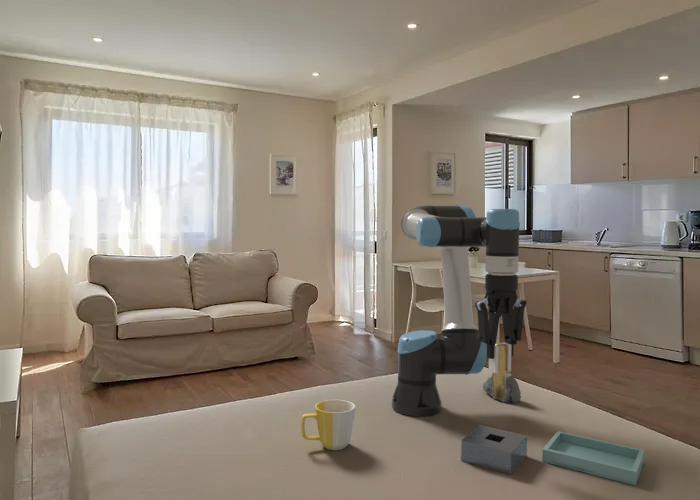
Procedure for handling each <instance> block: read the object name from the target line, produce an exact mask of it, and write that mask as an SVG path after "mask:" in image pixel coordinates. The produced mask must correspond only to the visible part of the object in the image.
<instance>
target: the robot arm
mask: <svg viewBox="0 0 700 500" xmlns="http://www.w3.org/2000/svg"><path fill="white" fill-rule="evenodd" d="M400 225H401V226H400V227H401V230H402V232H403V234H404V235H405V236H406V237H407V238H409V239H411V240H415V241H417V244H418V245H419V246H420V247H427V248H436V249H437V250H438V251H439V252H440V253H441V267H442V268H441V271H442V286H443V287H442V288H443V304H444V319H445V322H444V323H445V325H444V326H443V328H441V330H440V335H438V334H437V332H436V331H433V330H431V329H429V330H425V329H423V330H422V329H421V330H415V331H410V332H405V333H404V334H402V335H401V336H400V337H399V339H398V344H397V345H398V346H397V384H396V387H395V390H394V392H393V395H392V399H391V408H392V409H393V410H394V411H395V412H396V413H399V414H402V415H404V416H405V415H406V416H411V417H412V416H413V417H429V416H434V415H437V414H439V413H441V411H442V400H441V396H440V393H439V390H438V386H437V375H465V376H467V375H476V374H479V373H481V372H482V371H483V370H484V368H485V365H486V362H487V359H488V371H489V372H491V373H493V372H494V373H498V354H499V346H498V345H496V343H497V338H498V333H499V332H498V331H499V324H500V319H502V329H503V337H504V339H503V340H504V341H503V342H501V343H504V344H506V371H508V372H509V373H511V372H512V357H513V356H514V348H515V347H514V346H515V345H517V343H518V341H519V342H520V341H521V339H522V333H523V325H524V324H523V323H524V314H525V313H524V312H525V308H526V306H527V304H528V303H527V300H526V299H521V298H519V296H518V294H517V291H518V289H519V276H518V275H517V274H518V272H519V248H520V247H519V246H520V244H519V243H520V227H521V221H520V212H519V211H518V209H516V208H490V209H488V210H487V211H486V217H485V216H482V217H478V216H477V217H476V213H475V212H474V210H473V209H472V208H471V207H470V206H467V205H466V206H465V205H459V204H457V205H420V206H417V207H413V208H411V209H409V210H407V211H406V212H405V213H404V214H403V216H402V217H401V221H400ZM472 247H473V248H479V247H480V248H485V266H484V267H485V269H484V270H485V272H486V273H487V274H486V275H485V280H484V282H485V283H484V284H485V286H484V287H485V290H486V292H485V295H484V299H482V300H480V301H478V300H477V301H475V303H474V306H475V308H476V310H477V321H478V322H477V323H478V327H477V325H475V324H474V315H473V314H474V313H473V301H472V287H471V286H472V285H471V274H470V272H471V271H470V260H469V257H470V256H469V250H470V248H472ZM501 317H502V318H501Z"/></svg>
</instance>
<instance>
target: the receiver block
mask: <svg viewBox="0 0 700 500" xmlns="http://www.w3.org/2000/svg"><path fill="white" fill-rule="evenodd" d="M460 451H461V452H460V453H461V455H460V460H461V461H462V462H465V463H469V464H471V465H476V466H479V467H483V468H486V469H490V470H494V471H497V472H500V473H504V474H508V475H512V474H513V473H514V471H515V470H516V469H517V468H518V466H520V465H521V463H522V462H523V461H524V460H525V458H527V456H528V435H525V434H521V433H516V432H513V431H510V430H509V431H508V430H504V429H500V428H495V427H490V426H487V425H483V424H480V425H478V426H477V427H476V428H475V429H474V430H472V431H470V433H468V434H467V435H466V436H465V437H464V438H462V439H461V450H460Z"/></svg>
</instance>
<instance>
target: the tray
mask: <svg viewBox="0 0 700 500" xmlns="http://www.w3.org/2000/svg"><path fill="white" fill-rule="evenodd" d="M645 452H646V451H645V449H641V448H637V447H634V446H629V445H624V444H620V443H614V442H611V441H605V440H600V439H596V438H592V437H587V436H583V435H580V434H579V435H578V434H574V433H570V432H565V431H559V430H557V431H556V432H555V434H553V436H552V437H551V438H550V440H549V441H548V442H547V443H546V445H545V446H544V447H543V448H542V457H541V459H542V462H543V463H547V464H549V465H554V466H558V467H562V468H566V469H568V470H569V469H570V470H573V471H574V470H575V471H578V472H583V473H585V474H589V475H593V476H597V477H601V478H605V479H609V480H612V481H617V482H620V483H625V484H628V485H632V486H637V484H638V482H639V478H640V476H641V473H642V470H643V467H644V465H643V464H644V463H645V457H646V455H645Z"/></svg>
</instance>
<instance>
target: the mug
mask: <svg viewBox="0 0 700 500" xmlns="http://www.w3.org/2000/svg"><path fill="white" fill-rule="evenodd" d="M314 409H315V410H314V411H315V413H304V414H303V415H302V416H301V420H300V421H301V427H300V430H301V437H302V438H303V439H304V440H307V441H319V442H320V443H321V445H322V447H324V448H325V449H327V450H330V451H341V450H343V449H345V448H346V447H347V446H348V445H349V444H350V442H351V439H352V430H353V425H354V424H353V423H354V420H355V413H356V405H355V404H354V403H353V402H351V401H348V400H343V399H328V400H327V399H326V400H322V401H319V402H317V403H316V404H315V406H314ZM308 418H313V419H315V420H316V425H317V430H318V435H311V436H310V435H306V431H305V424H306V422H305V421H306V419H308Z"/></svg>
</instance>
